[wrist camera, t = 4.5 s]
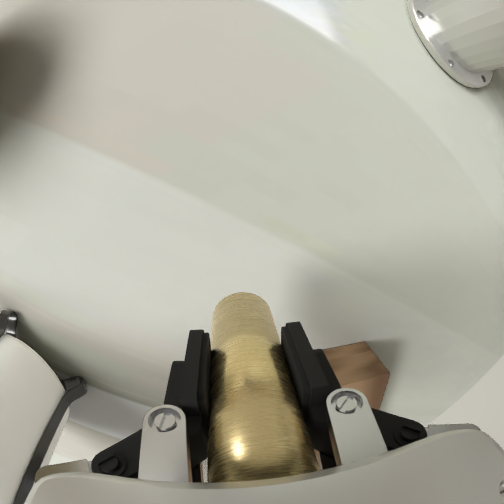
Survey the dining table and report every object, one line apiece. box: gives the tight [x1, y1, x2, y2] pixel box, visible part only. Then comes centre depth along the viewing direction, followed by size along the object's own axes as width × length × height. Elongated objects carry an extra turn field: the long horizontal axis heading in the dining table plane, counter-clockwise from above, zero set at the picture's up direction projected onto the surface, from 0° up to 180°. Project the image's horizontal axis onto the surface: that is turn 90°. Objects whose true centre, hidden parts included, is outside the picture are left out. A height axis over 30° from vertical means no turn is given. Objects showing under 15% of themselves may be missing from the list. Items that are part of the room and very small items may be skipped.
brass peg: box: [208, 292, 320, 483], centre depth 10 cm, size 3×3×10 cm
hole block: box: [314, 342, 390, 461], centre depth 23 cm, size 14×14×5 cm
